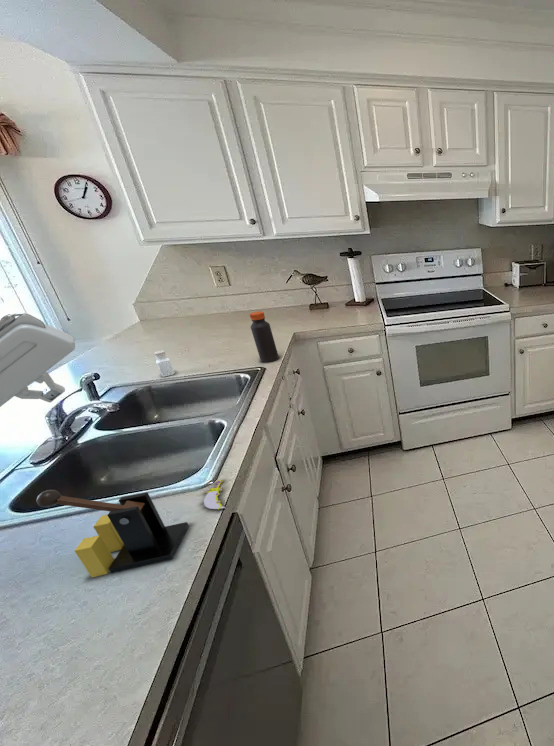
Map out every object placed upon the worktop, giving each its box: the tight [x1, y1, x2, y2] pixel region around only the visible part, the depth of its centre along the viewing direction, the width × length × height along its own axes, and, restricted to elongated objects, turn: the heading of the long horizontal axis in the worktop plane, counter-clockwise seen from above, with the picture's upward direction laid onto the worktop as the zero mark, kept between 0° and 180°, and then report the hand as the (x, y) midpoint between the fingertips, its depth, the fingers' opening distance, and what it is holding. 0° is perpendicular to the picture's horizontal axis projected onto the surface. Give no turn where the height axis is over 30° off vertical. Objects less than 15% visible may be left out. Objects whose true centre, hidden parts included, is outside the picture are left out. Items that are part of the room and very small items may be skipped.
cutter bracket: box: [106, 491, 190, 574], centre depth 80 cm, size 10×9×12 cm
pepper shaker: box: [153, 350, 176, 378], centre depth 158 cm, size 4×4×10 cm
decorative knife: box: [203, 479, 227, 510], centre depth 96 cm, size 12×1×5 cm
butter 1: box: [92, 514, 124, 553], centre depth 82 cm, size 2×3×7 cm
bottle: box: [249, 310, 280, 363], centre depth 167 cm, size 7×7×20 cm
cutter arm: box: [35, 489, 145, 513], centre depth 76 cm, size 15×3×3 cm, turn 109°
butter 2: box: [74, 534, 115, 578], centre depth 77 cm, size 2×3×7 cm
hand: (58, 395), depth 75 cm, fingers closed
